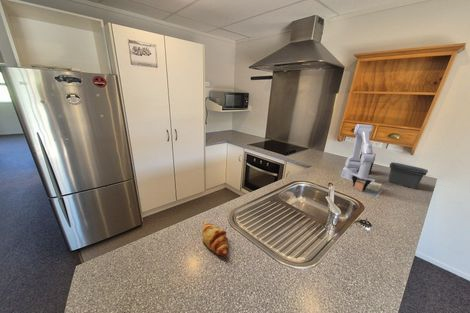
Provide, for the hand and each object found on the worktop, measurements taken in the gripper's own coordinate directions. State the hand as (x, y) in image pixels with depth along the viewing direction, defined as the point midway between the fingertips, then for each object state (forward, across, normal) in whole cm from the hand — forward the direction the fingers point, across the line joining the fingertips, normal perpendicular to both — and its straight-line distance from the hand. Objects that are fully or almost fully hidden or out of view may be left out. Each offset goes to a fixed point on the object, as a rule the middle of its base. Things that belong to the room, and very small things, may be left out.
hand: (359, 188), depth 130 cm
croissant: (+2, -26, -107) cm, 110 cm away
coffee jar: (+2, -8, +43) cm, 44 cm away
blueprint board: (+2, +4, +5) cm, 7 cm away
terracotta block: (+1, 0, 0) cm, 1 cm away
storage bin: (+2, +19, +42) cm, 46 cm away
